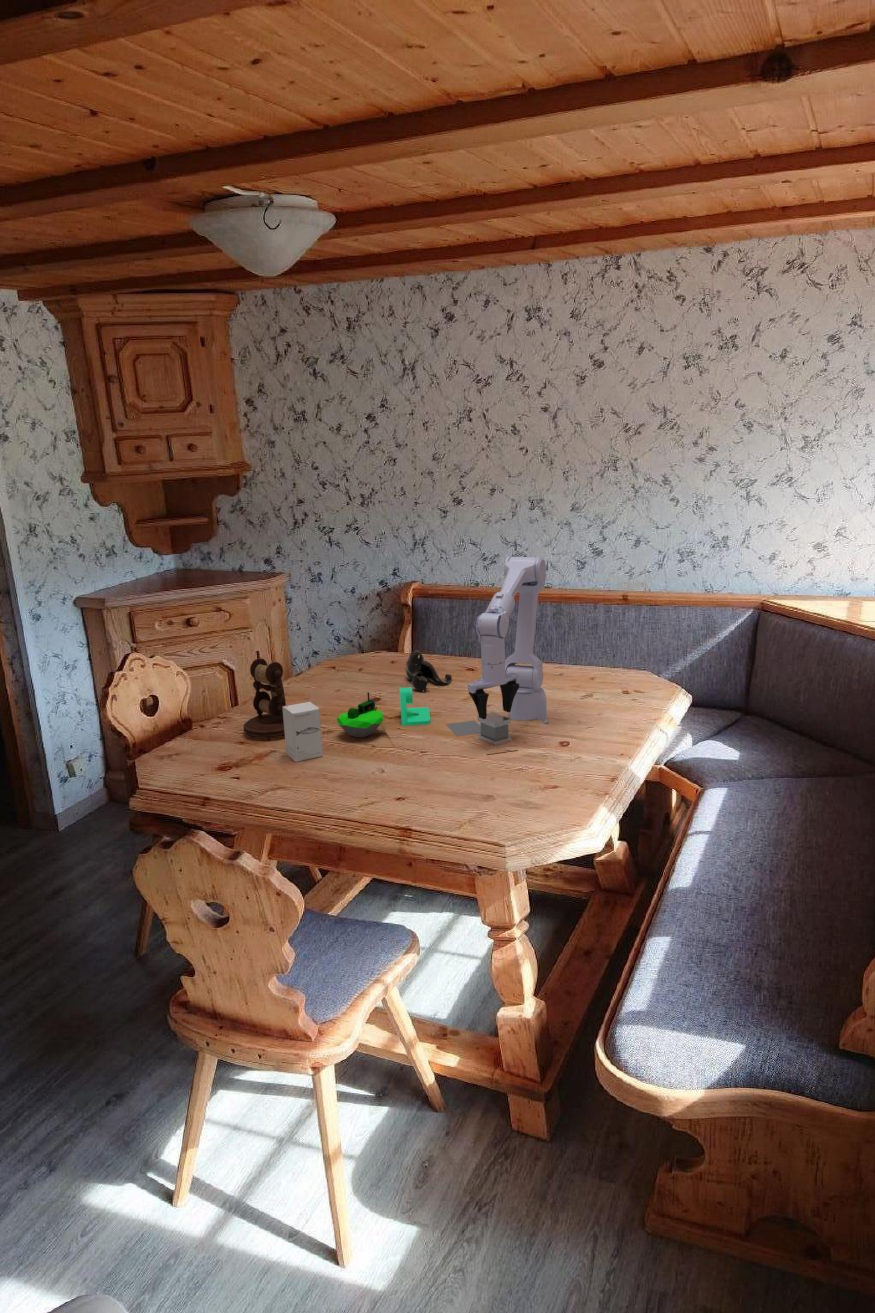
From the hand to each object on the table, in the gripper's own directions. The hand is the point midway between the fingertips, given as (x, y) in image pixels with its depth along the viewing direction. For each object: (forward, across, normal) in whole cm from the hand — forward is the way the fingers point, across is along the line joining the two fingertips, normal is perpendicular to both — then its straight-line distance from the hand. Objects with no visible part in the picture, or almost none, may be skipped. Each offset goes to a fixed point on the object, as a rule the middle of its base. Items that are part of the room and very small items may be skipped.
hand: (494, 714), depth 228 cm
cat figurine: (+9, -19, -56) cm, 60 cm away
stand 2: (+8, 0, 0) cm, 8 cm away
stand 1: (+8, 0, -13) cm, 15 cm away
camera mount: (+9, +5, -28) cm, 30 cm away
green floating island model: (+8, +22, -30) cm, 38 cm away
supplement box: (+8, +40, -26) cm, 48 cm away
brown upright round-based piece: (+8, +38, -48) cm, 62 cm away
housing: (+7, 0, 0) cm, 7 cm away
